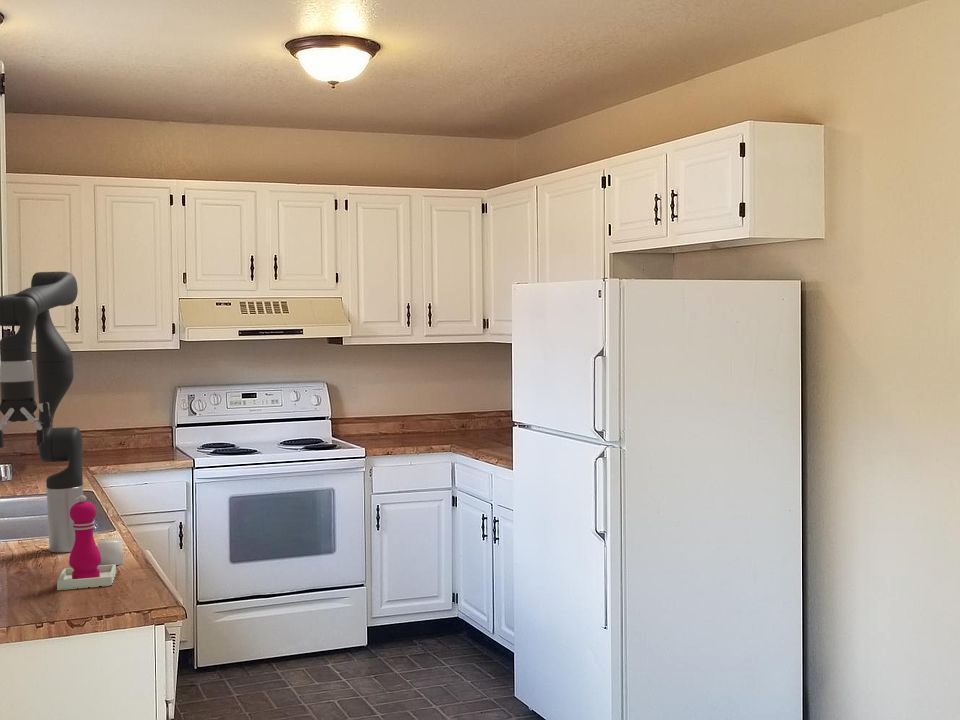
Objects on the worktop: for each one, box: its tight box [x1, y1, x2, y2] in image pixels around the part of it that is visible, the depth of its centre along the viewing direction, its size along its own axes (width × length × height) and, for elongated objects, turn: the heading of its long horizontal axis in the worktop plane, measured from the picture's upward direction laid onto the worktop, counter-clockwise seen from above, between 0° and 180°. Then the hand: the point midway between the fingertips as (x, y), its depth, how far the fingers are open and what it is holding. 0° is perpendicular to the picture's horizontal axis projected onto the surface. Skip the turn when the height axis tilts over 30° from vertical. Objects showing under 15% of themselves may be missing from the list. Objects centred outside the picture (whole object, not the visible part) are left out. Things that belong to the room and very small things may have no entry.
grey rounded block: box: [97, 538, 124, 566], centre depth 274 cm, size 6×6×6 cm
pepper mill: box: [68, 494, 101, 579], centre depth 257 cm, size 7×7×20 cm
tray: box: [56, 564, 117, 591], centre depth 257 cm, size 13×12×2 cm
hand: (20, 446), depth 261 cm, fingers open, 8 cm apart
